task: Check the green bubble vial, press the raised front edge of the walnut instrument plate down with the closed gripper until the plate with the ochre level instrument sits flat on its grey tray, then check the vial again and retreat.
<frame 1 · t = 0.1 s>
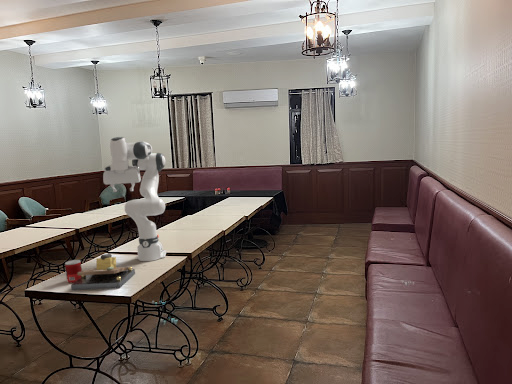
hand: (123, 191, 221), 48 cm above the table, tool pointing down, fingers open, 8 cm apart
canned food: (75, 281, 224), on the table
grey tray: (104, 281, 218), on the table
level plate: (103, 263, 218), point 10 cm above the table, hinge at 12.0°
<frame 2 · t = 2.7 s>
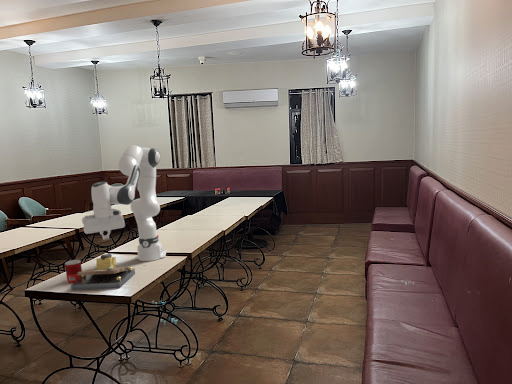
hand: (106, 238, 210), 25 cm above the table, tool pointing down, fingers closed
nothing on the table moved.
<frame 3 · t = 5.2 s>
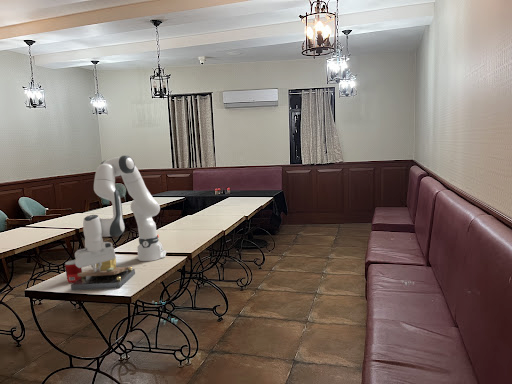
hand: (97, 271, 211), 8 cm above the table, tool pointing down, fingers closed, pressing on level plate
level plate: (103, 264, 218), point 10 cm above the table, hinge at 9.9°, touching gripper
everything else where it was.
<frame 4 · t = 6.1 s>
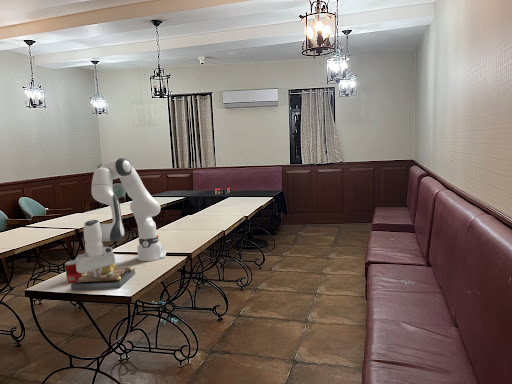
hand: (97, 276, 211), 5 cm above the table, tool pointing down, fingers closed, pressing on level plate
level plate: (103, 266, 218), point 8 cm above the table, hinge at 0.6°, touching gripper
everything else where it was.
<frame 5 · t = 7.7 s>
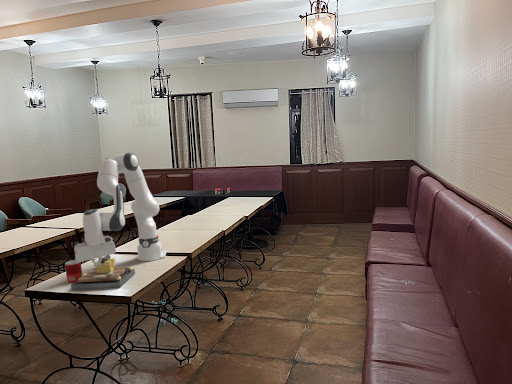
hand: (97, 265, 211), 11 cm above the table, tool pointing down, fingers closed
level plate: (103, 266, 218), point 8 cm above the table, hinge at 0.5°
everything else where it was.
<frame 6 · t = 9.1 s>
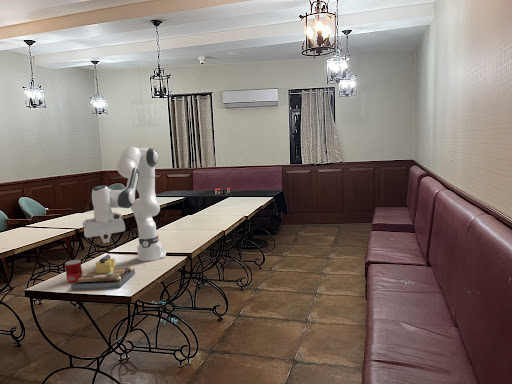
hand: (106, 242, 210), 23 cm above the table, tool pointing down, fingers closed
nothing on the table moved.
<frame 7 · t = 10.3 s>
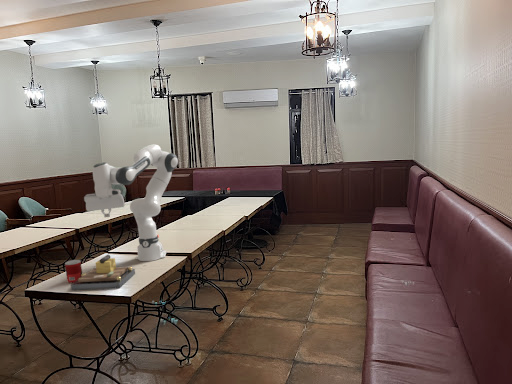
hand: (107, 216, 221), 35 cm above the table, tool pointing down, fingers closed
nothing on the table moved.
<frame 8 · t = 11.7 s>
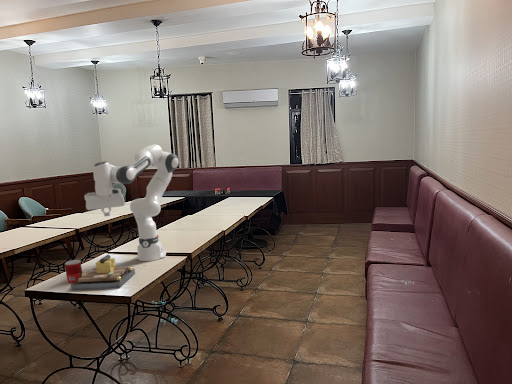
hand: (107, 215, 221), 35 cm above the table, tool pointing down, fingers closed
nothing on the table moved.
at the end: level plate at +0° (first picture: +12°); canned food moved 0.2 cm from its start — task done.
